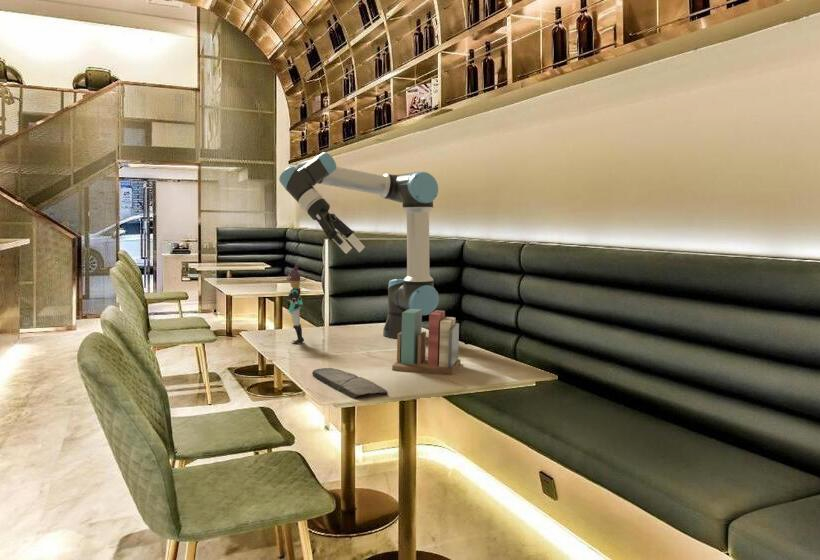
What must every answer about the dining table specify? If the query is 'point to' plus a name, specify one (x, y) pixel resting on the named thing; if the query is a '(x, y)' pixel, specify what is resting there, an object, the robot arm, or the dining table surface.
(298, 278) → the figurine
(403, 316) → the book
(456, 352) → the book rack
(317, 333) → the dining table surface
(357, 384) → the stone slab
